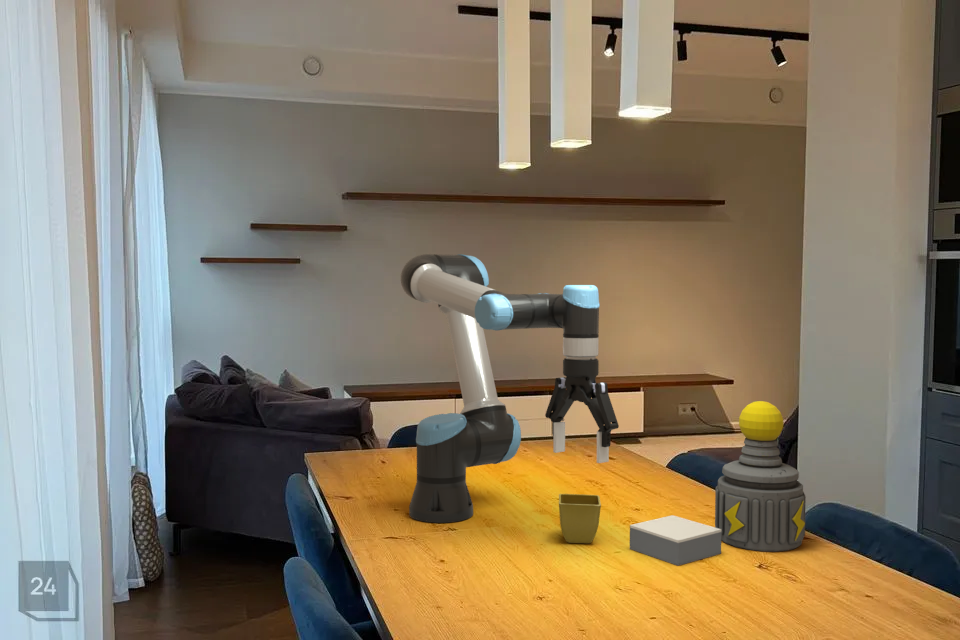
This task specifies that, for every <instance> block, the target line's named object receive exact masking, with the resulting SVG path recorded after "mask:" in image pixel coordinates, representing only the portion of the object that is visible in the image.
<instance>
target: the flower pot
mask: <svg viewBox="0 0 960 640" xmlns="http://www.w3.org/2000/svg"><path fill="white" fill-rule="evenodd" d="M600 498H601V497H600V495H598V494H597V495H596V494H584V493H583V494H582V493H581V494H578V493H559V494H558V511H559V523H560V524H559V525H560V529H561V533H562V535H563V538H564V540H565V541H566V542H565V543H569V544H572V543H573V544H574V543H575V544H586V545H587V544H589V545H590V544H591V543H592V542H593V540H594V538H595V537H596V535H597V533H598V528H599V523H600V517H601V516H600V514H601V508H602V503H601V499H600Z"/></svg>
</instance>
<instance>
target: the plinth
mask: <svg viewBox="0 0 960 640" xmlns="http://www.w3.org/2000/svg"><path fill="white" fill-rule="evenodd" d="M629 550H631V551H635V552H638V553H641V554H643V555H647V556H649V557H652V558H655V559H657V560H660V561H662V562H666V563H669V564H671V565H674V566H682V565H685V564H689V563H693V562H696V561H699V560H700V561H701V560H703V559H707V558H710V557H713V556H717V555H721V554H722V541H721V529H718V528H715V526H711V525H708V524H704V523H701V522H697V521H694V520H690V519H688V518H684V517H681V516H677V515H667V516H663V517H659V518H656V519H650V520H647V521H642V522H638V523H634V524H629Z"/></svg>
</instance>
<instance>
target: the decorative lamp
mask: <svg viewBox="0 0 960 640" xmlns="http://www.w3.org/2000/svg"><path fill="white" fill-rule="evenodd" d="M738 426H739V429H740V431H741V433H742V435H743V436H744V437H745V438H744V441H743V444H744V446H742V448H741V451H740V452H741V453H742V454H741V455H739V458H738V460H733V461H731V462H728V463H725V464H724V465H723V466H722V470H721V472H722V474H723V475H721V476H719V478H718V480H717V486H715V494H714V495H715V498H714V500H715V501H714V502H715V504H714V506H715V507H714V508H715V509H714V527H715V528H718V529H721V542H723V543H725V544H727V545H729V546H731V547H732V546H733V547H734V548H739V549H743V550H746V551H747V550H749V551H753V552H754V551H755V552H772V553H775V552H787V551H791V550H795V549H797V548H798V547H800V546H802V544H803V543H802V542H803V540H804V537H805V535H806V503H807V502H806V501H807V500H806V497H807V496H806V494H805V492H804V484H802V483H801V482H800V481H798V480H799V477H800V475H799V474H800V473H799V470H797V469H796V468H795V467H793V466H791V465H789V464H787V463H784V462H783V460H782V457H780V456H779V455H780V454H781V453H780V449H779V448H778V440H777V439H778V437H780V436H781V433H782V430H783V429H784V418H783V415H782V413H781V411H780V410H779V409H778V408H777V406H776V405H774V404H772V403H770V402H768V401H763V400H759V401H752V402H751V403H749V404H747V405H746V406H745V407H744V408H743V409H742V410H741V412H740V415H739V417H738Z"/></svg>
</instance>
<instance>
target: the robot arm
mask: <svg viewBox="0 0 960 640" xmlns="http://www.w3.org/2000/svg"><path fill="white" fill-rule="evenodd" d="M489 282H490V278H489V274H488V271H487V269H486V266H485V264H484V263H483V262H482V261H481V260H480V259H479V258H478V257H476V256H473V255H467V254H462V253H461V254H438V253H437V254H431V253H423V254H419V255H416V256H415V257H412V258H411V259H410V260H408V261H407V262H406V263H405V264H404V266H403V267H402V270H401V274H400V284H401V287H402V290H403V291H404V292H405V294H406V295H407V296H409V297H410V298H411V299H414V300H417V301H419V302H420V303H426V304H427V303H435V304H437V305H438V310H439V312H440V313H442V314H443V315H444V316H446V320H447V326H448V331H449V336H450V341H451V345H452V351H453V356H454V361H455V365H456V372H457V376H458V382H459V386H460V387H459V388H460V391H461V396H462V401H463V408H462V409H461V411H460V412H459V413H456V412H454V413H453V412H452V413H451V412H450V413H440V414H439V413H438V414H435V415H431V416H428V417H425V418H423V419H421V420H420V422H419V423H418V424H417V427H416V428H417V429H416V437H415V443H416V484H415V486H414V491H413V493H412V496H411V500H410V502H409V507H408V508H409V509H408V511H409V512H408V513H409V514H408V515H409V517H410V518H411V519H413V520H416V521H420V522H424V523H434V524H435V523H437V524H439V523H445V524H446V523H454V522H462V521H465V520H468V519H470V518H471V517H472V516H474V505H473V501H472V498H471V497H472V496H471V495H470V492H469V488H468V484H467V480H466V479H467V478H466V476H467V472H466V471H467V470H466V469H467V468H470V467H471V468H472V467H478V466H485V465H492V464H493V465H497V464H500V463H503V462H507V461H510V460H512V459H513V458H514V456H516V454H517V452H518V450H519V448H520V446H521V441H522V430H521V425H520V422H519V420H518V419H516V416H515V415H513V414H510V413H508V412H507V411H508V410H507V406H506V404H505V403H504V402H502V401H501V400H500V399H499V397H498V393H497V389H496V384H495V379H494V375H493V368H492V365H491V359H490V356H489V355H490V353H489V350H488V346H487V340H486V335H485V330H489V331H490V330H492V331H504V330H518V329H519V330H521V329H563V331H562V332H563V334H562V336H563V337H562V355H563V356H564V357H565V358H563V359H562V374H563V376H565V377H556V378H555V379H554V389H553V391H552V394H551V397H550V398H549V399H550V400H549V402H548V405H547V408H546V411H545V415H544V416H545V418H546V419H549V420H550V421H551V424H552V427H551V429H552V430H551V431H552V433H551V434H552V437H553V446H552V447H553V451H552V453H562V452H565V451H566V421H565V419H564V418H565V416H566V415H567V413H568V411H569V410H570V409H571V407H572V405H573V404H574V402H579V403H583V404H584V405H585V406H587V408H588V410H589V412H590V414H591V416H592V417H593V420H594V421H595V423H596V425H597V427H598V430H597V431H596V464H603V463H609V462H610V459H609V457H610V455H609V453H610V447H611V445H612V444H611V439H612V438H611V437H612V436H611V432H612V431H613V430H618V428H619V422H618V420H617V417H616V413H615V410H614V408H613V404H612V401H611V398H610V394H609V390H608V389H609V388H608V383H607V382H604V381H603V382H597V376H599V372H600V371H599V368H600V367H599V366H600V365H599V359H598V358H596V357H598V356H599V344H600V343H599V331H600V330H599V324H600V323H599V322H600V306H601V305H600V297H599V296H600V295H599V288H598V287H597V286H596V285H594V284H568V285H567V284H566V285H564V287H563V291H562V293H560V294H559V293H547V292H544V293H541V292H540V293H521V294H519V293H517V294H515V293H505V292H502V291H499V290H497V289H494V288H491V287H488V286H489Z"/></svg>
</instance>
